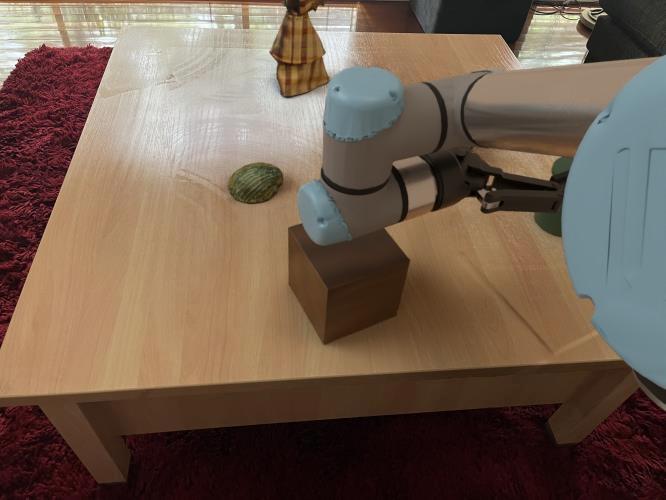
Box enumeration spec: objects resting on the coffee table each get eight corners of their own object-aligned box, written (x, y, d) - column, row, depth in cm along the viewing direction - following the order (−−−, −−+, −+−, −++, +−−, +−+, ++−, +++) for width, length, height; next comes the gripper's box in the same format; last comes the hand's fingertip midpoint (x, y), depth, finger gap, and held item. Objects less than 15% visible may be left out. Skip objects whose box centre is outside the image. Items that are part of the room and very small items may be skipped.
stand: (397, 315, 77) (410, 260, 68) (323, 345, 72) (328, 290, 64) (357, 259, 84) (364, 203, 75) (288, 283, 79) (287, 227, 71)
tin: (590, 229, 92) (615, 185, 85) (556, 242, 89) (580, 198, 82) (557, 201, 97) (579, 157, 89) (524, 213, 94) (544, 168, 87)
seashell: (225, 151, 94) (281, 149, 96) (227, 168, 97) (281, 166, 99) (225, 190, 88) (285, 188, 89) (227, 207, 91) (285, 205, 93)
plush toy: (248, 70, 121) (261, -38, 101) (294, 55, 128) (315, -48, 108) (286, 108, 116) (307, 3, 96) (331, 90, 124) (360, -11, 104)
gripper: (367, 152, 74) (485, 121, 82) (475, 274, 60) (608, 222, 67) (373, 105, 69) (499, 76, 76) (494, 226, 54) (636, 176, 62)
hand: (550, 144), depth 72 cm, fingers open, 13 cm apart
